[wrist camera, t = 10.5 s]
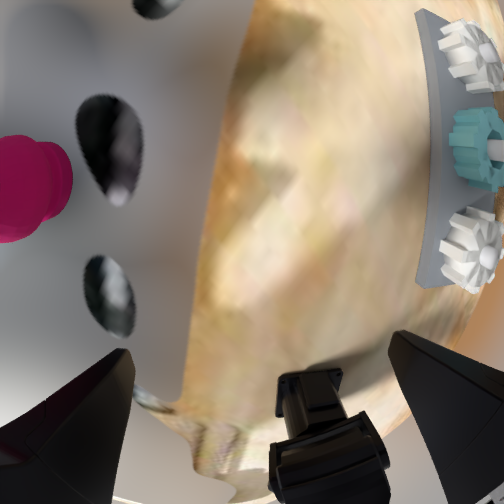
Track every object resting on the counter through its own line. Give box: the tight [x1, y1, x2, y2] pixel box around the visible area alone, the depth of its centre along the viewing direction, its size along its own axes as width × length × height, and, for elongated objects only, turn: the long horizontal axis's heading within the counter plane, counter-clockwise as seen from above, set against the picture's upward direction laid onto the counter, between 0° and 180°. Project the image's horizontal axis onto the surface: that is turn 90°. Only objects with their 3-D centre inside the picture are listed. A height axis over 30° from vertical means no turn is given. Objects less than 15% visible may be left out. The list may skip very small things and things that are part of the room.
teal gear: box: [449, 107, 504, 193], centre depth 15 cm, size 7×7×3 cm
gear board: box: [414, 8, 504, 294], centre depth 15 cm, size 26×9×6 cm, turn 0°
